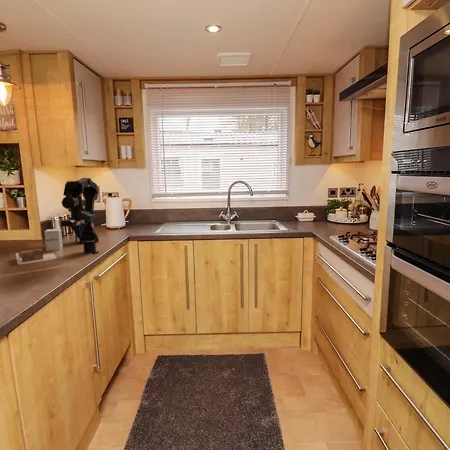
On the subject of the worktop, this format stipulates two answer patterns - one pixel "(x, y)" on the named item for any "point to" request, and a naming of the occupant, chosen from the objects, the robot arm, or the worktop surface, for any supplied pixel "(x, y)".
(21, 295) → the worktop surface
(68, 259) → the worktop surface
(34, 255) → the block
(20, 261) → the white shallow tray
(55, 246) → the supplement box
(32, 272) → the worktop surface
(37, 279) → the worktop surface
